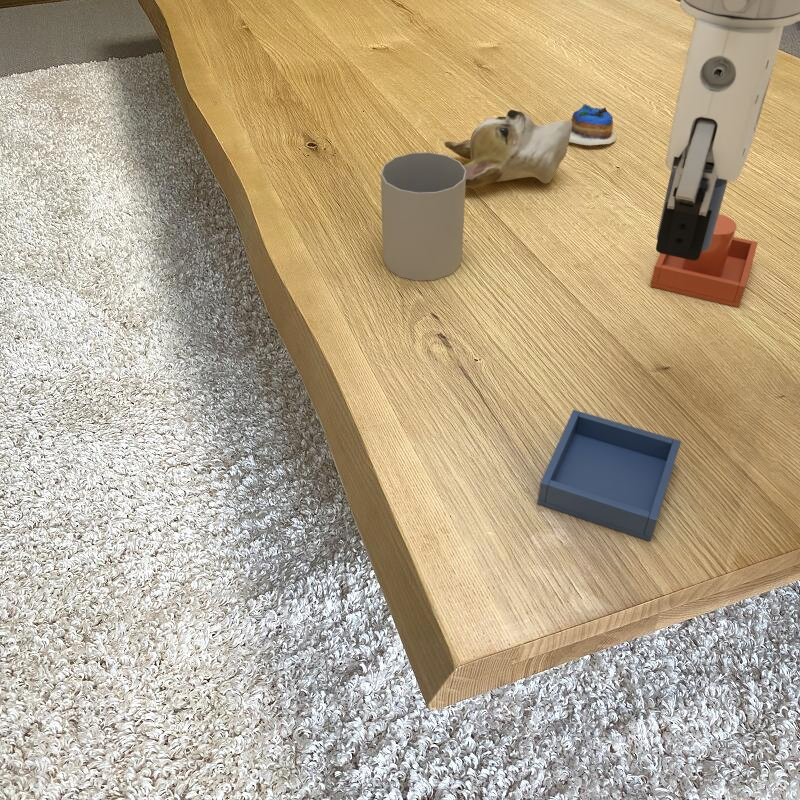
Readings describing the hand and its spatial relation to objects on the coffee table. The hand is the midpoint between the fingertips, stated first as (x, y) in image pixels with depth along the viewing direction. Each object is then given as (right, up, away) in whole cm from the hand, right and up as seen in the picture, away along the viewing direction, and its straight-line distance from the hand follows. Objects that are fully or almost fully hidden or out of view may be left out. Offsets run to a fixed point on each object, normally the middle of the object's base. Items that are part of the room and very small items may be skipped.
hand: (684, 237), depth 64 cm
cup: (-19, +2, +25) cm, 32 cm away
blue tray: (-6, -19, +1) cm, 20 cm away
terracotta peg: (+9, +1, +22) cm, 24 cm away
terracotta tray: (+9, 0, +22) cm, 24 cm away
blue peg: (0, 0, 0) cm, 0 cm away
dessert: (+3, +22, +46) cm, 51 cm away
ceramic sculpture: (-9, +14, +38) cm, 41 cm away
